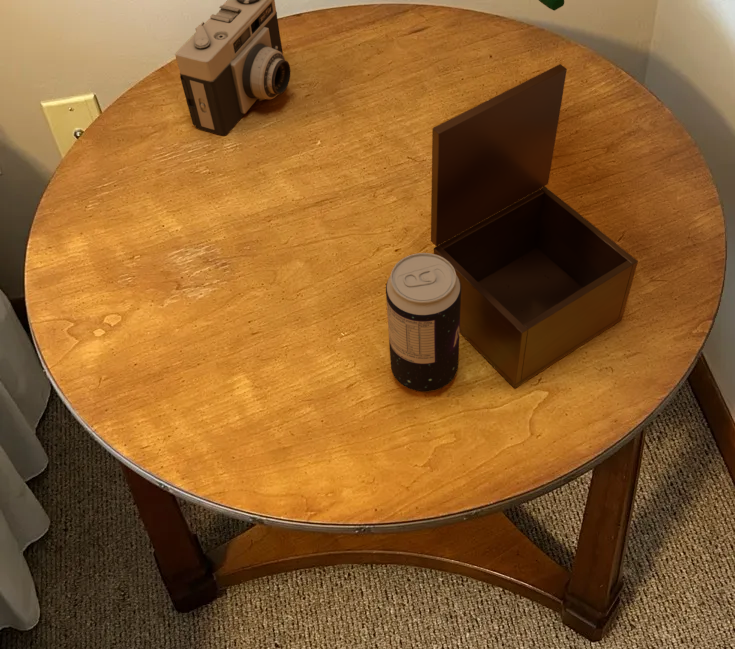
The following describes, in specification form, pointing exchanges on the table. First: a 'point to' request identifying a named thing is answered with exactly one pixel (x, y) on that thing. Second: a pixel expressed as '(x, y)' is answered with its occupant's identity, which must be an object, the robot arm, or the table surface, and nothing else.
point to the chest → (536, 284)
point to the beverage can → (423, 321)
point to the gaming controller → (553, 3)
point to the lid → (494, 154)
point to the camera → (232, 64)
